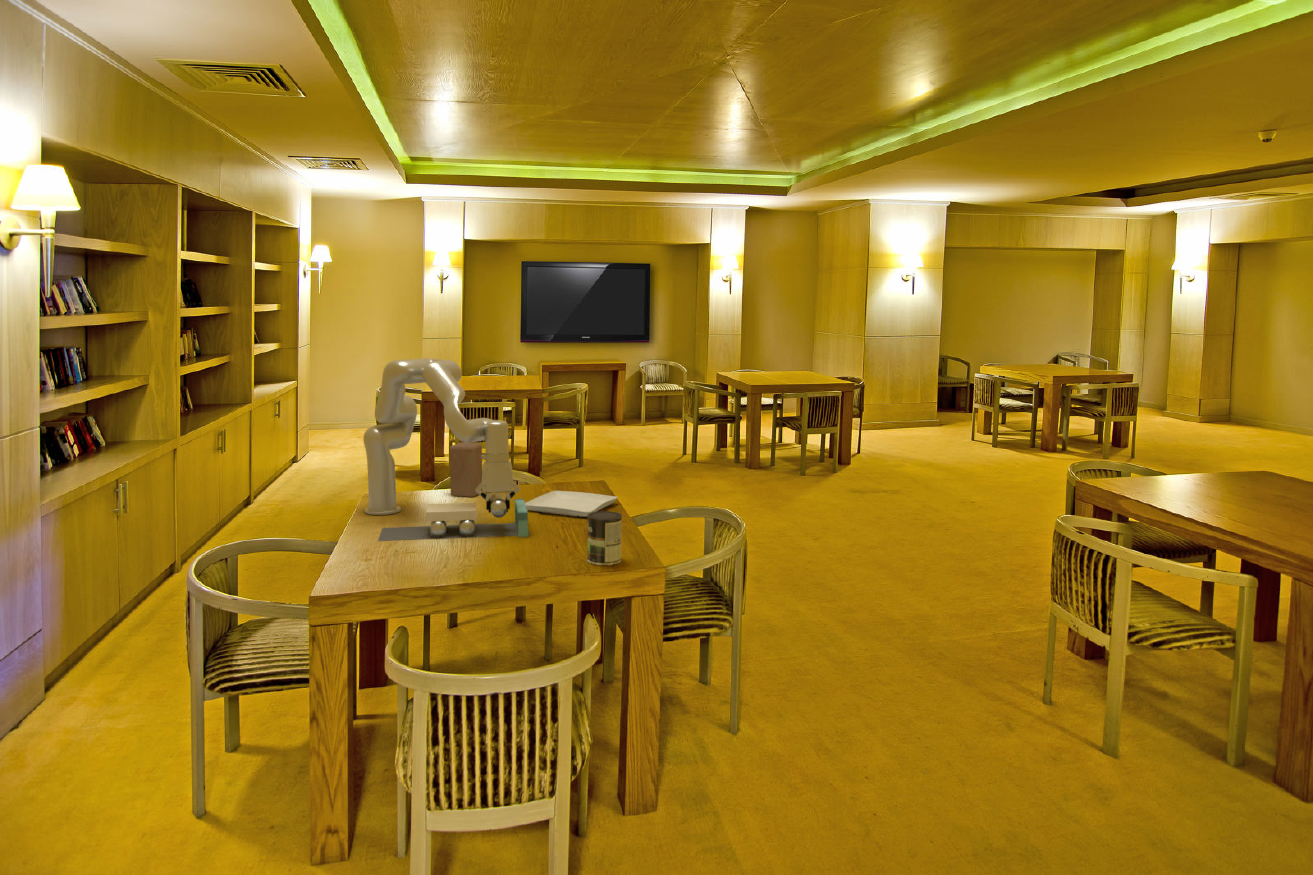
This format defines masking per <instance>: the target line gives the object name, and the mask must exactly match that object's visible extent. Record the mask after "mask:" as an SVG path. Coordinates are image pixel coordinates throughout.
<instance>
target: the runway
mask: <svg viewBox="0 0 1313 875" xmlns="http://www.w3.org/2000/svg"><path fill="white" fill-rule="evenodd" d="M525 503H526V502H525V499H524V498H514V522H508V523H503V522H502V523H482V524H481V523H479V524H477V523H475V533H474V534H473V535H472V536H470V537H464V536H462V535H461V534H460V531H459V525H460V524H452V525H451V524H450V525H449V524H448V525H446V533H445V535H444V536H443V537H442V538H434V537H433V536H432V535H431V533H430V527H431V525H428V526H427V525H426V526H421V525H420V526H402V527H401V526H398V527H397V526H396V527H395V526H394V527H382V528H381V530H380V533H379V536H378V539H377V542H388V541H389V542H391V541H417V540H420V541H421V540H445V539H467V538H468V539H469V538H470V539H471V538H473V539H474V538H494V537H495V538H496V537H499V538H500V537H518V538H528V537H529V536H531V535H530V534H531V533H530V531H529V530H530V529H529V524H528V522H529V521H528V520H529V519H528V518H529V517H528V516H529V515H528V509H527V508H526V505H525Z"/></svg>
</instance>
